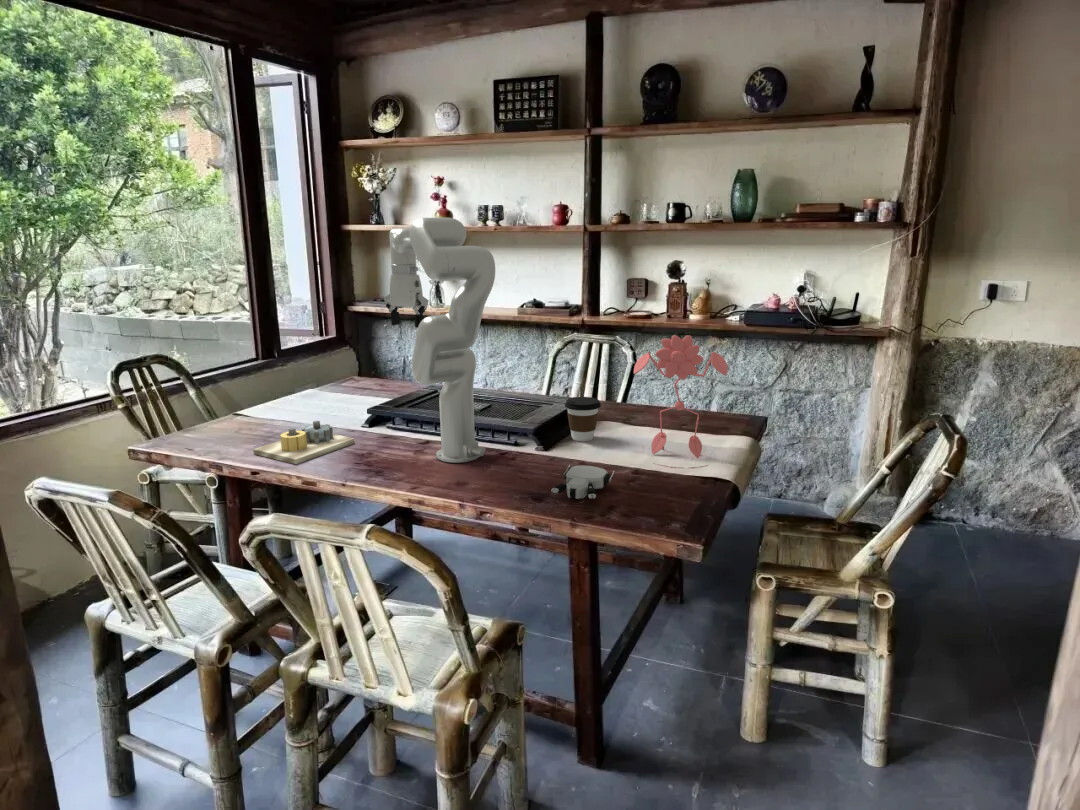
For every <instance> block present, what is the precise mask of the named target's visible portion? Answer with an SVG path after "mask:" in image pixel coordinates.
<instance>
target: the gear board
mask: <svg viewBox="0 0 1080 810" xmlns="http://www.w3.org/2000/svg"><path fill="white" fill-rule="evenodd" d="M287 430H288V431H289V436H296V431H297V429H296V428H295V427H293V428H289V429H287ZM288 431H287V432H288ZM301 431H304V432H306V441H307V447H305V448H304V449H301V450H297V451H285V450H282V448H281V439H280V440H277V441H274V442H271V443H268V444H265V445H262V446H259V447H256V448H253V450H252V451H253V455H256V456H261V457H265V458H268V459H273V460H277V461H280V462H285V463H289V464H292V465H299V464H302V463H304V462H306V461H309V460H312V459H315V458H317V457H320V456H323V455H326V454H328V453H331V452H334V451H336V450H339V449H343V448H345V447H348V446H350V445H354V444H355V443H356V442H355V438H354V437H349V436H345V435H339V434H334V432H333V431H334V430H333V426H331V425H330V424H328V423H327V424H321V421H320V420H314V421H312V425H306V426H305V427H304V428H301Z"/></svg>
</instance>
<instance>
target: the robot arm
mask: <svg viewBox="0 0 1080 810" xmlns="http://www.w3.org/2000/svg"><path fill="white" fill-rule="evenodd" d="M466 239H467V229H466V227H465V226H464V223H462V222H461V220H458V219H456V218H453V217H420V218H417V219H415V220H414V221H413V222H412V224H411V226H410V227H401V228H393V229H391V230H390V231H389V251H390V266H391V274H390V278H389V294H387V295H386V296H384V297H383V300H384V304H385V307H386V308H387V309H388V312H389V313H390V321H391V323H390V324H391V325H392V326H398V325H400V323H401V322H400V321H401V320H400V312H399V308H405V309H406V308H407V309H412V310H413V311H414V313H415V314H414V327H415V328H417V331H416V336H415V342H414V348H413V353H412V359H411V360H412V362H411V372H412V376H413V378H414V380H415V381H416V382H417V383H418V384H420V385H435V384H442V383H444V384H443V386H442V388H441V390H440V393H439V397H438V398H439V402H438V403H439V420H440V421H439V423H440V424H439V425H440V443H441V444H440V445H441V448H440V449H438V450H437V451H436V454H435V455H436V458H437V460H439V461H440V462H441V461H442V462H444V463H454V464H456V463H457V464H459V463H461V464H462V463H467V462H472V461H475V460H477V459H479V458H480V457H483V456H484V455H485V452H486V447H484V446H479V440H476V438H475V437H476V436H475V435H476V433H475V430H476V429H475V408H474V407H475V406H474V385H475V382H474V381H475V373H476V367H477V359H476V356H475V353H474V351H473V350H472V349H471V347H472V346H474V344H475V343H476V341H477V338H478V335H479V330H480V325H481V321H482V317H483V314H484V310H485V309H484V308H485V305H486V302H487V301H488V298H489V296H490V294H491V291H492V289H493V288H494V283H495V279H496V263H495V259H494V256H493V254H492V252H491V251H490V250H489V249H487V248H486V247H482V246H478V245H464V243H465V241H466ZM417 259H418V261H419V263H420V265H421V267H422V269H423V271H424V273H425V274H426V275H427V277H428V278H429V279H431V280H432V281H435V282H447V281H448V282H449V281H465V282H464V283H462V285H461V286H460V287H459V288H458V290H456V292H455V293H454V295H453V296H452V299H451V302H450V307H449V310H448V312H447V313H445V314H438V315H437V314H434V315H429V316H427V317H426V316H425V317H424V314H425V312H426V310H427V308H428V305H429V302H430V301H429V299H427V298H426V297H425V296H424V295H423V288H422V281H421V278H420V275H419V274H417V273H418V271H419V267H418V266H417Z"/></svg>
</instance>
